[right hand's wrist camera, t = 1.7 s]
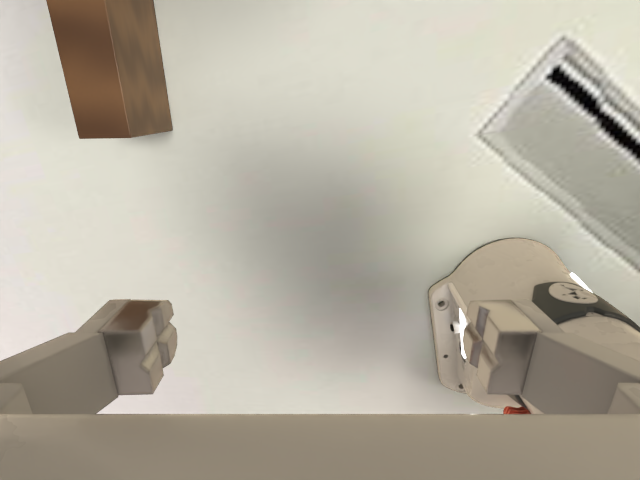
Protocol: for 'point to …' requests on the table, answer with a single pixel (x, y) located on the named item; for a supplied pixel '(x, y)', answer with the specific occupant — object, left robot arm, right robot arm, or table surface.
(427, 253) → the table surface
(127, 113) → the bar
